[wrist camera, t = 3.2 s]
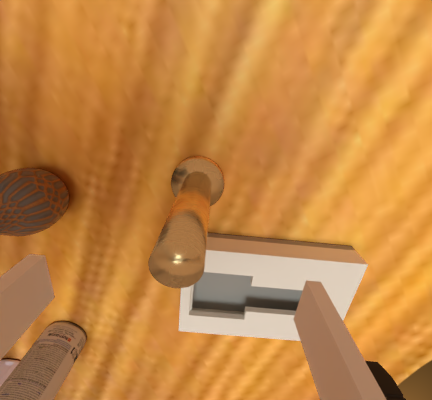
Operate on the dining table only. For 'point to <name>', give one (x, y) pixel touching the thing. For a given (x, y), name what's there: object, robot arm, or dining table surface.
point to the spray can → (45, 364)
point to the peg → (187, 223)
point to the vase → (30, 201)
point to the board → (265, 285)
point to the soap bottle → (6, 369)
